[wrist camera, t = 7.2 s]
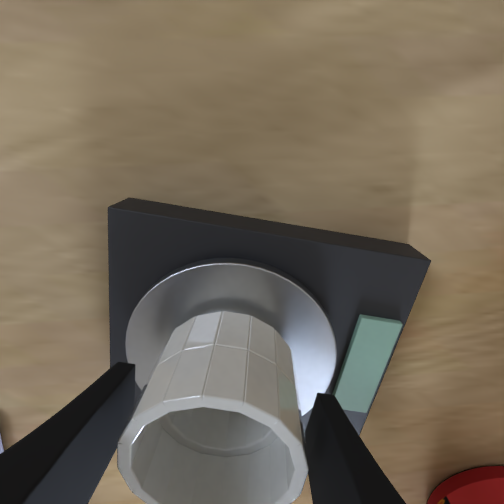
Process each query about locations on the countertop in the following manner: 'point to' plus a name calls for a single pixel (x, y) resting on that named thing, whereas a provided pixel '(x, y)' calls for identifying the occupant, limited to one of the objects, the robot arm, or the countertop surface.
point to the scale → (287, 260)
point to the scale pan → (239, 301)
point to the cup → (217, 418)
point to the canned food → (471, 487)
